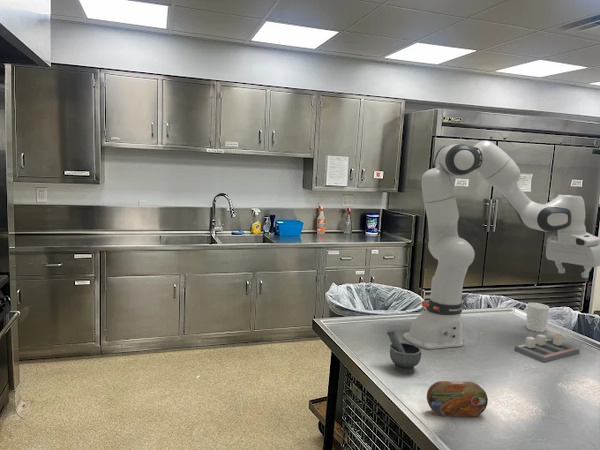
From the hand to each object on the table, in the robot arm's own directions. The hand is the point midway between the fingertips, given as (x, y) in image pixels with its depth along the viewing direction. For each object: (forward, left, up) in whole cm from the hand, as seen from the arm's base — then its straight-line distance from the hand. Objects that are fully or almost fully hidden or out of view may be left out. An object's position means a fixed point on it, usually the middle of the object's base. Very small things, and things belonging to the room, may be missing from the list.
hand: (573, 275), depth 165 cm
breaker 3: (-8, -2, -25) cm, 26 cm away
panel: (-14, -2, -26) cm, 30 cm away
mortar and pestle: (-72, +8, -27) cm, 77 cm away
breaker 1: (-20, +1, -25) cm, 31 cm away
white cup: (+5, +15, -27) cm, 31 cm away
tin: (-77, -18, -27) cm, 83 cm away
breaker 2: (-14, +1, -25) cm, 28 cm away
